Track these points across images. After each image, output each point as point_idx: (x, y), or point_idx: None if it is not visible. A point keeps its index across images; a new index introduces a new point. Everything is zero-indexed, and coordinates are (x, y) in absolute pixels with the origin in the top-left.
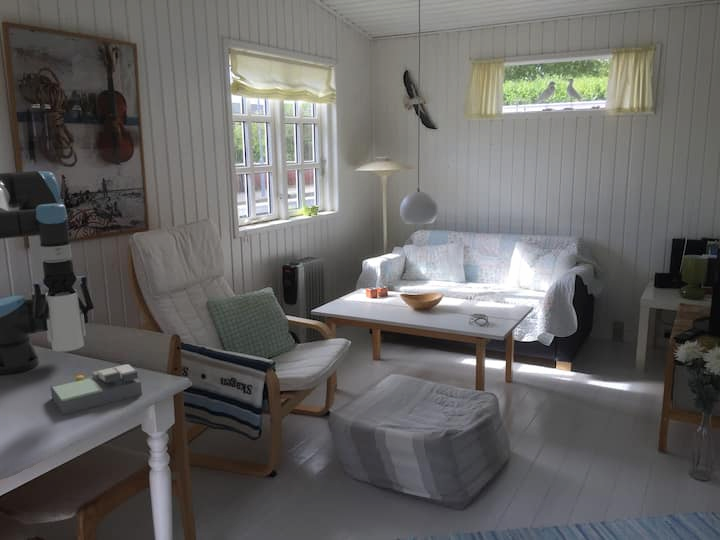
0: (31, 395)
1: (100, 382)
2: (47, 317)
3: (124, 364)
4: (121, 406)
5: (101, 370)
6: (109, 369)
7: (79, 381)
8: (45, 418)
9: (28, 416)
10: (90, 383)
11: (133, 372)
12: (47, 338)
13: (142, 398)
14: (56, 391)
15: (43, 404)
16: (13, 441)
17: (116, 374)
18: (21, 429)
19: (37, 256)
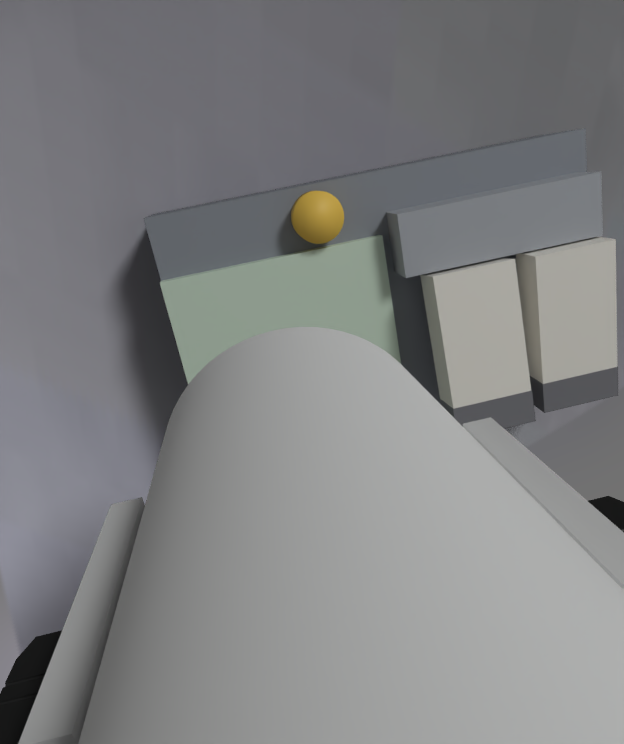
0: (31, 103)
1: (415, 305)
2: (69, 734)
3: (595, 173)
4: None
5: (453, 279)
6: (497, 292)
7: (311, 264)
8: (140, 449)
9: (59, 396)
10: (365, 327)
11: (598, 397)
12: (108, 517)
13: (544, 414)
14: (185, 362)
15: (116, 279)
16: (35, 606)
17: (514, 424)
18: (49, 517)
19: None
